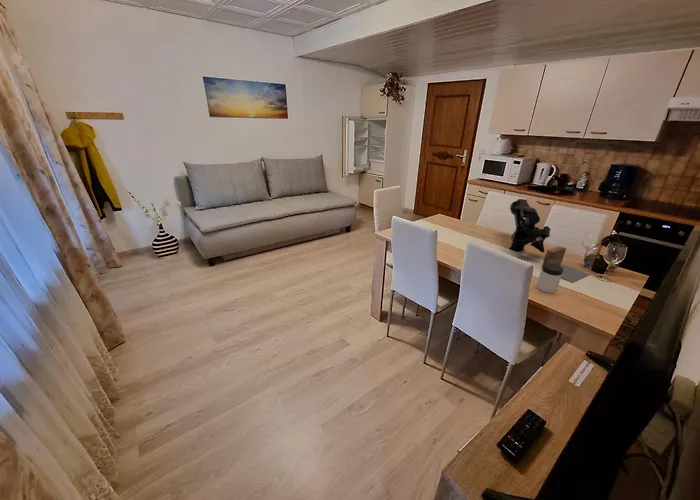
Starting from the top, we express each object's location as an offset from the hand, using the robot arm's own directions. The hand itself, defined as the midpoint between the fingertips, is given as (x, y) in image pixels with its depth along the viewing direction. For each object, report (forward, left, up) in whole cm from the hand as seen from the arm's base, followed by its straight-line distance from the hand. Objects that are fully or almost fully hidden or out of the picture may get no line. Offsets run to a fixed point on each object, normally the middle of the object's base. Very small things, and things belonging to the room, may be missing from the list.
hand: (543, 252), depth 169 cm
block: (+6, 0, -7) cm, 9 cm away
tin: (+20, +22, -7) cm, 31 cm away
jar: (+18, -27, -7) cm, 33 cm away
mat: (+15, 0, -7) cm, 16 cm away
